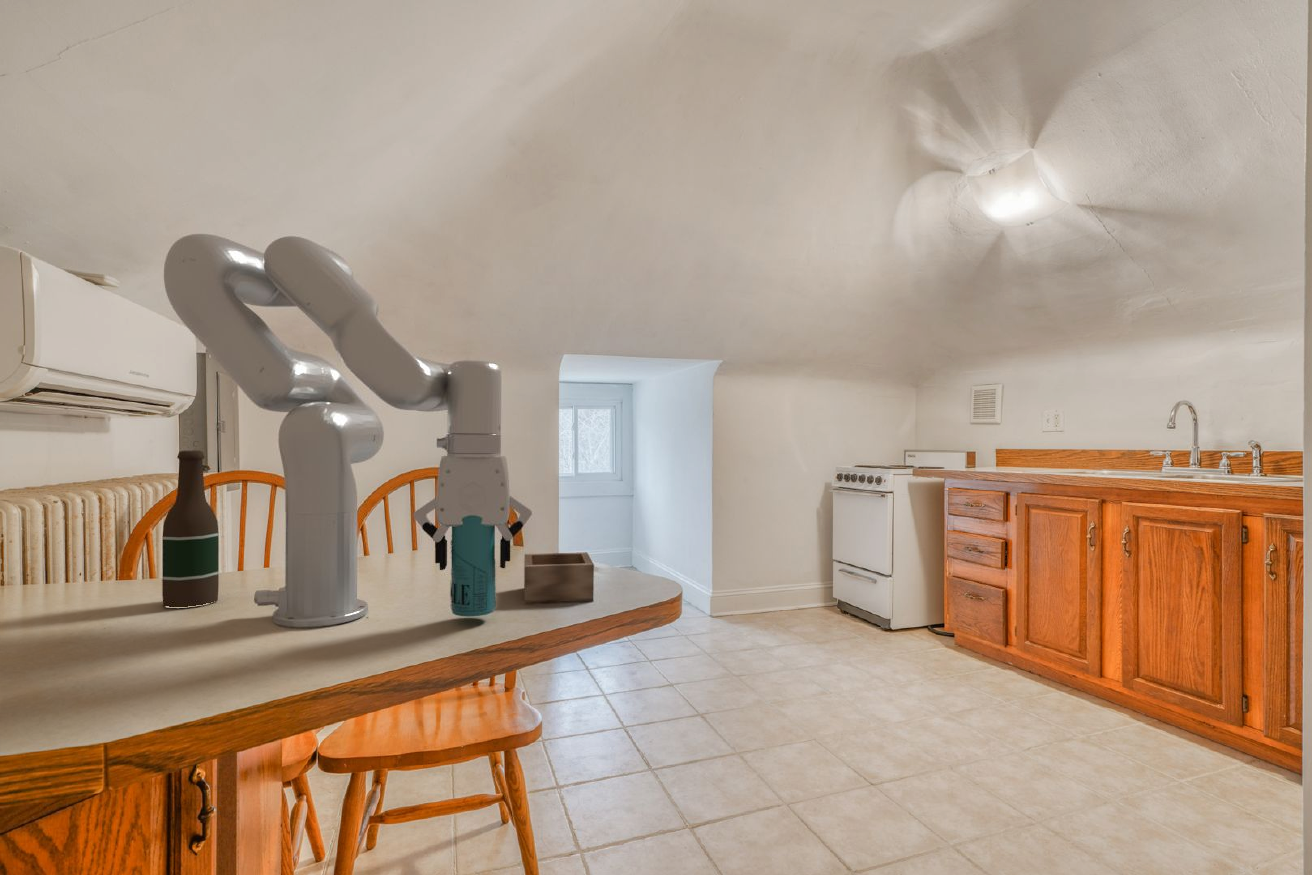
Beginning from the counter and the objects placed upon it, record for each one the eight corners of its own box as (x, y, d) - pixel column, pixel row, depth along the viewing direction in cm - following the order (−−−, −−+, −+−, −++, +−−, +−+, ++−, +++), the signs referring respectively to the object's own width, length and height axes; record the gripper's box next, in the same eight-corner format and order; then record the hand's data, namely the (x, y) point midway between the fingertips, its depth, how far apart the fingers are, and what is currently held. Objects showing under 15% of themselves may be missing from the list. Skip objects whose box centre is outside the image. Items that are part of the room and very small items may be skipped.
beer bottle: (229, 601, 108) (230, 450, 107) (174, 612, 101) (174, 452, 101) (205, 594, 112) (206, 449, 112) (151, 604, 105) (151, 450, 105)
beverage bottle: (502, 615, 102) (503, 482, 101) (486, 628, 95) (487, 486, 95) (460, 614, 102) (461, 481, 102) (441, 626, 96) (442, 485, 95)
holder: (524, 603, 109) (525, 566, 108) (524, 587, 119) (524, 553, 119) (593, 601, 111) (593, 564, 111) (586, 585, 122) (587, 552, 121)
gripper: (406, 447, 93) (406, 574, 93) (535, 447, 96) (534, 571, 97) (415, 445, 100) (414, 563, 101) (534, 446, 104) (533, 560, 104)
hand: (473, 566), depth 99 cm, fingers open, 7 cm apart
